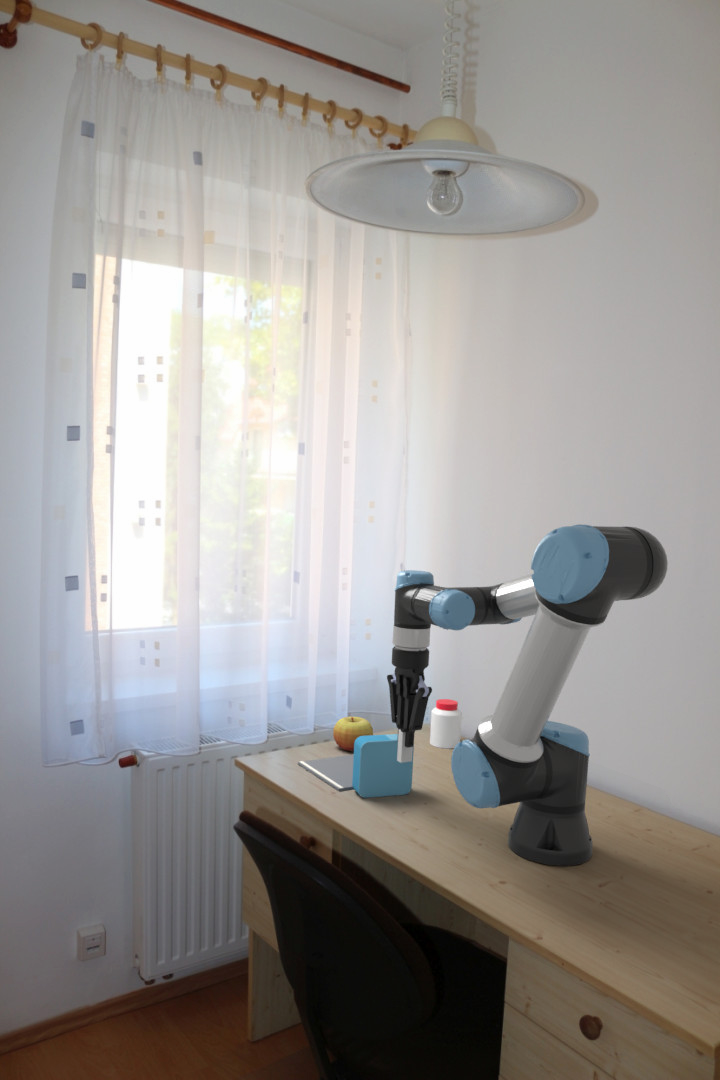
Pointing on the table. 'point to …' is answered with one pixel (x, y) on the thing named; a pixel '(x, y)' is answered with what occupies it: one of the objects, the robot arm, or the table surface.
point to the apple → (350, 731)
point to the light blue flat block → (380, 767)
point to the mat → (332, 770)
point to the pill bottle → (445, 724)
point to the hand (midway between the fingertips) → (404, 760)
